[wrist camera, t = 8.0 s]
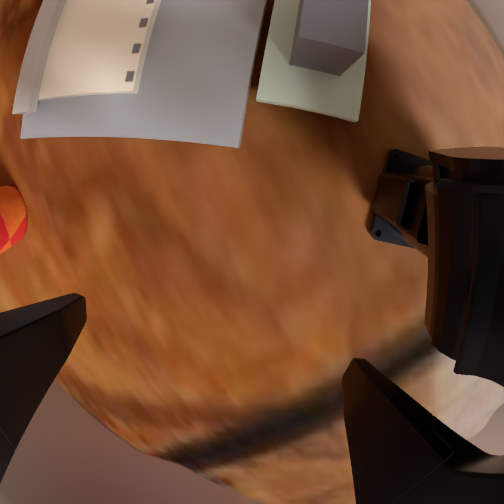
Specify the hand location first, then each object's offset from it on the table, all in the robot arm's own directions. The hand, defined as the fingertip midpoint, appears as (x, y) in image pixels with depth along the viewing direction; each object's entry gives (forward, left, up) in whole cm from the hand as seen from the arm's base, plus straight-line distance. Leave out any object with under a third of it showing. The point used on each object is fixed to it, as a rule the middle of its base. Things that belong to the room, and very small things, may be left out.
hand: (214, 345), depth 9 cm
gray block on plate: (-3, -14, -10) cm, 17 cm away
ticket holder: (+10, -14, -12) cm, 21 cm away
